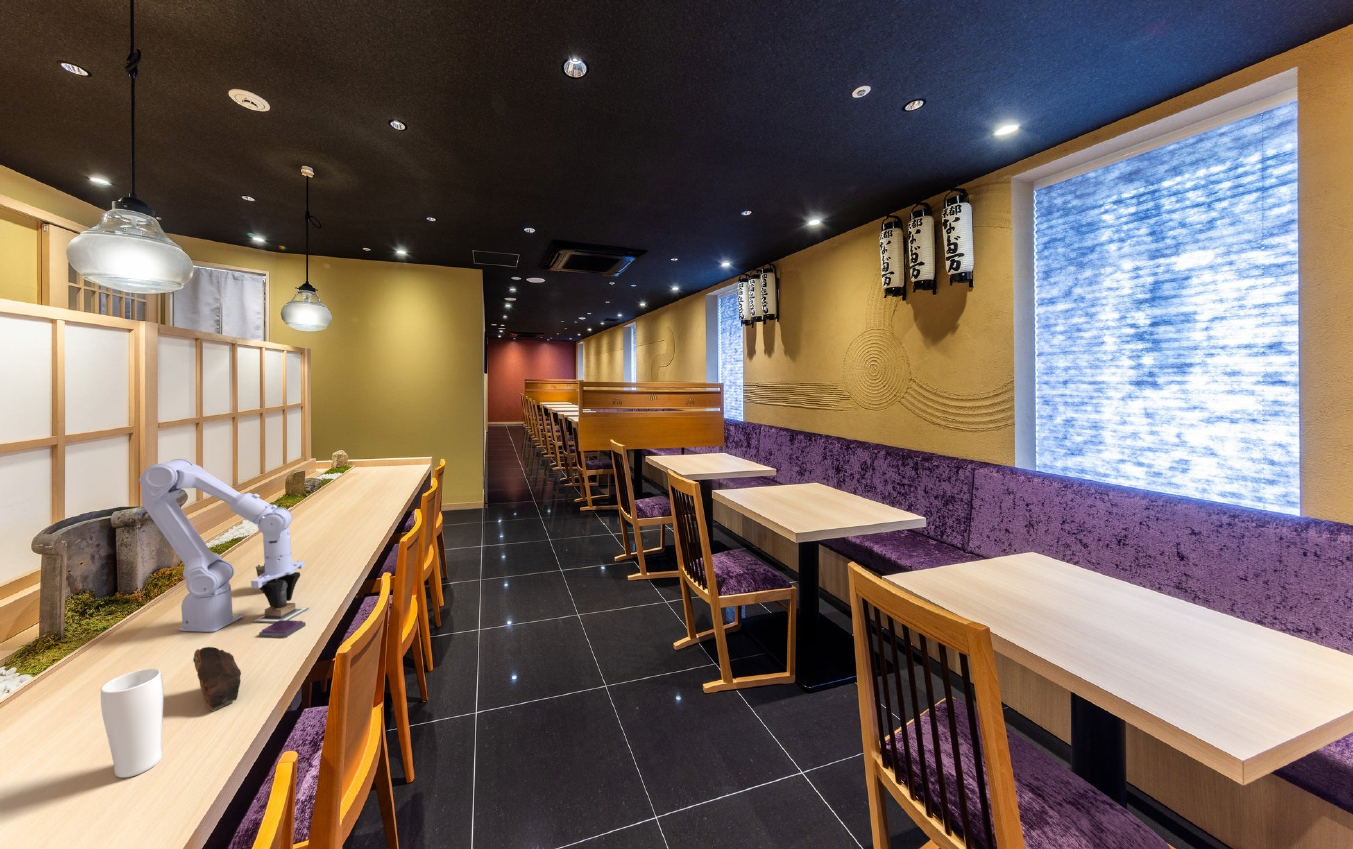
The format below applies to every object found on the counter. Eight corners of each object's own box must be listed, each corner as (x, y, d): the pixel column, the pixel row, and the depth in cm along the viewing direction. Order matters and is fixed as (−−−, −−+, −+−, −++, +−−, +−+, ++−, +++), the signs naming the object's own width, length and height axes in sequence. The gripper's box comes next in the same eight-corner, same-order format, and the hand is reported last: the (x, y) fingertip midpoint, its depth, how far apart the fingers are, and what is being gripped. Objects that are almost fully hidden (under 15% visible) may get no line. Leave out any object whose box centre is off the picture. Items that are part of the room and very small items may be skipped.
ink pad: (259, 636, 123) (258, 630, 123) (279, 624, 129) (279, 619, 129) (286, 637, 123) (285, 631, 122) (305, 625, 128) (305, 620, 128)
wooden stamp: (264, 617, 132) (263, 583, 131) (279, 610, 136) (278, 577, 136) (281, 618, 131) (279, 583, 131) (295, 610, 136) (294, 577, 135)
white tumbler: (163, 745, 86) (156, 663, 85) (173, 763, 82) (166, 676, 81) (104, 770, 80) (96, 682, 79) (111, 790, 76) (103, 698, 75)
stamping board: (252, 622, 130) (252, 620, 130) (280, 608, 138) (280, 606, 138) (283, 623, 130) (283, 621, 130) (308, 608, 138) (308, 607, 138)
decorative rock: (193, 692, 101) (189, 641, 100) (232, 679, 105) (229, 630, 104) (204, 717, 93) (200, 662, 92) (246, 701, 98) (242, 649, 97)
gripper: (268, 564, 125) (271, 616, 126) (313, 546, 140) (316, 592, 141) (242, 563, 126) (245, 615, 127) (289, 545, 140) (292, 591, 141)
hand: (280, 603), depth 134 cm, fingers closed on wooden stamp, 3 cm apart
